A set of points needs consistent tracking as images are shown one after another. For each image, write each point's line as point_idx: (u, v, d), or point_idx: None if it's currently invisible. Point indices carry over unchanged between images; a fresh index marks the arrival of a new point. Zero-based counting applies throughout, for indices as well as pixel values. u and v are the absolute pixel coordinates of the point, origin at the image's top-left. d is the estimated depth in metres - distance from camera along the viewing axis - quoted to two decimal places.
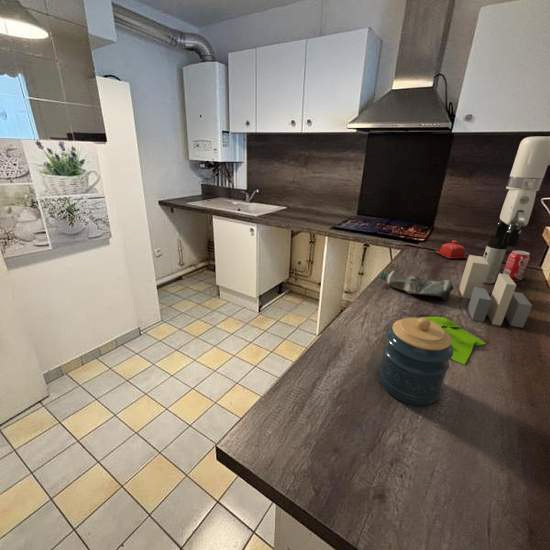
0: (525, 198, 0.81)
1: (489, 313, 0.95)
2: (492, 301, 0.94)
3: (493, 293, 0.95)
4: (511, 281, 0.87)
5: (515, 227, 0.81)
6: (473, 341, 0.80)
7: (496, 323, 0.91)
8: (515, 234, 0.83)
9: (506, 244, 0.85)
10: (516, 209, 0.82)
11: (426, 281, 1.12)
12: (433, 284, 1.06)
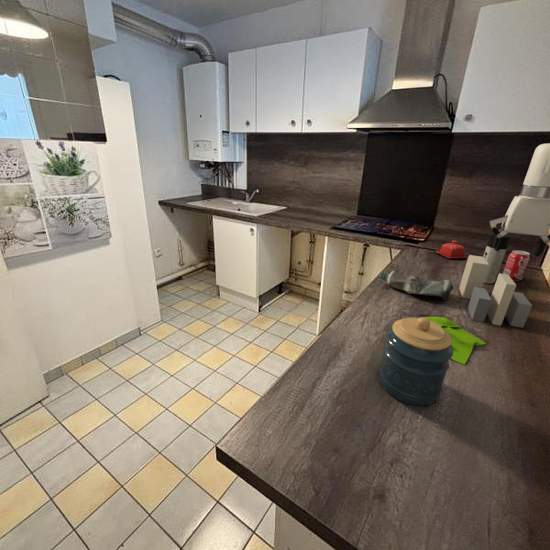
0: None
1: (489, 313, 0.95)
2: (492, 301, 0.94)
3: (493, 293, 0.95)
4: (511, 281, 0.87)
5: None
6: (473, 341, 0.80)
7: (496, 323, 0.91)
8: None
9: None
10: None
11: (426, 281, 1.12)
12: (433, 284, 1.06)
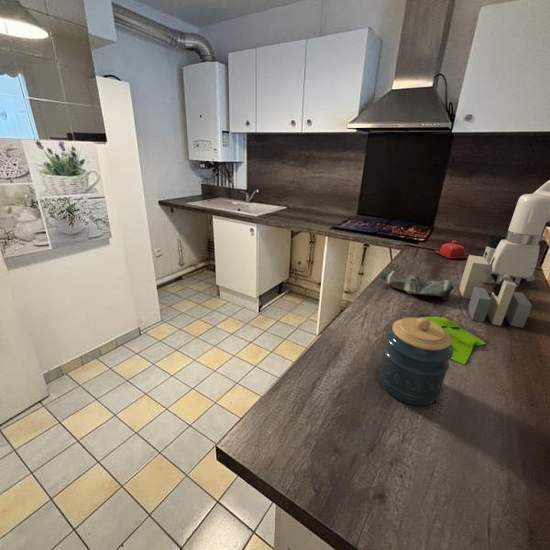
0: None
1: (489, 313, 0.95)
2: (492, 301, 0.94)
3: (493, 293, 0.95)
4: (511, 281, 0.87)
5: (525, 280, 0.87)
6: (473, 341, 0.80)
7: (496, 323, 0.91)
8: None
9: None
10: None
11: (426, 281, 1.12)
12: (433, 284, 1.06)
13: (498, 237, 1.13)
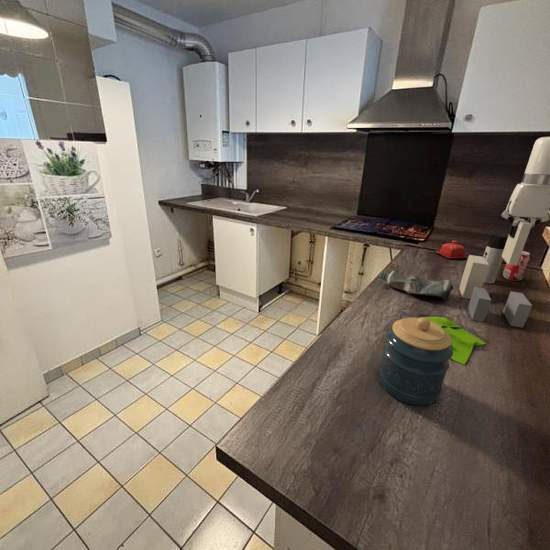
0: None
1: (505, 256, 1.02)
2: (508, 245, 1.01)
3: (509, 237, 1.02)
4: (527, 222, 0.94)
5: (540, 221, 0.94)
6: (473, 341, 0.80)
7: (512, 263, 0.97)
8: None
9: None
10: None
11: (426, 281, 1.12)
12: (433, 284, 1.06)
13: (498, 237, 1.13)
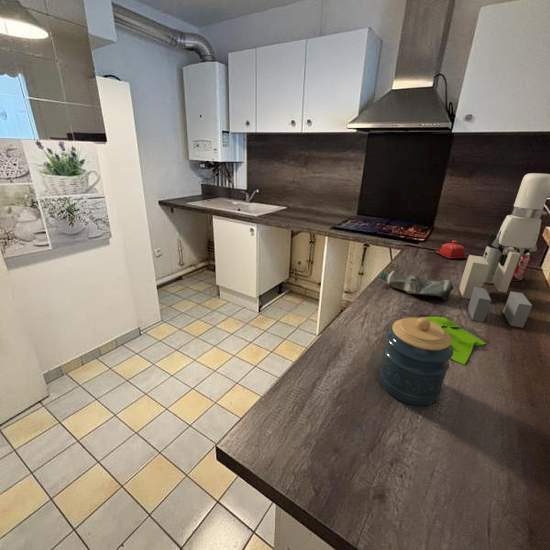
0: None
1: (495, 282, 1.06)
2: (498, 272, 1.05)
3: (499, 265, 1.06)
4: (516, 252, 0.98)
5: (528, 251, 0.98)
6: (473, 341, 0.80)
7: (502, 290, 1.02)
8: None
9: None
10: None
11: (426, 281, 1.12)
12: (433, 284, 1.06)
13: None
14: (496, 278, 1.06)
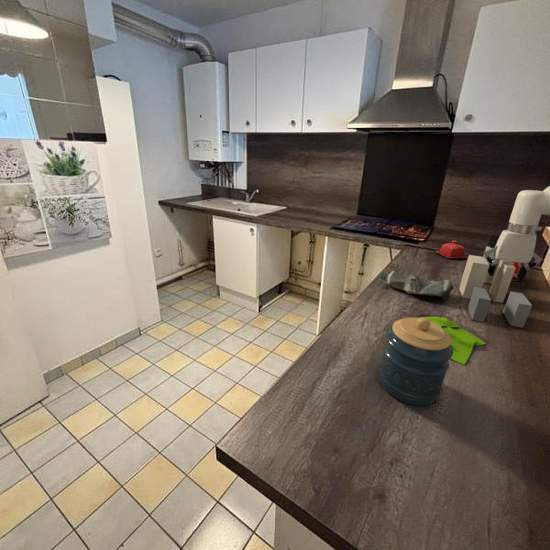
0: None
1: (492, 294, 1.08)
2: (494, 284, 1.07)
3: (495, 277, 1.08)
4: (511, 265, 1.00)
5: (535, 264, 0.98)
6: (473, 341, 0.80)
7: None
8: None
9: None
10: (533, 250, 0.97)
11: (426, 281, 1.12)
12: (433, 284, 1.06)
13: (498, 237, 1.13)
14: (492, 290, 1.08)
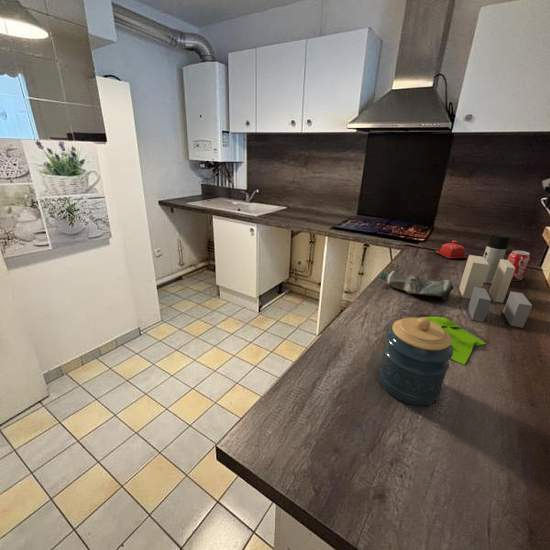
0: None
1: (492, 294, 1.08)
2: (494, 284, 1.07)
3: (495, 277, 1.08)
4: (511, 265, 1.00)
5: None
6: (473, 341, 0.80)
7: None
8: None
9: None
10: None
11: (426, 281, 1.12)
12: (433, 284, 1.06)
13: (498, 237, 1.13)
14: (492, 290, 1.08)
